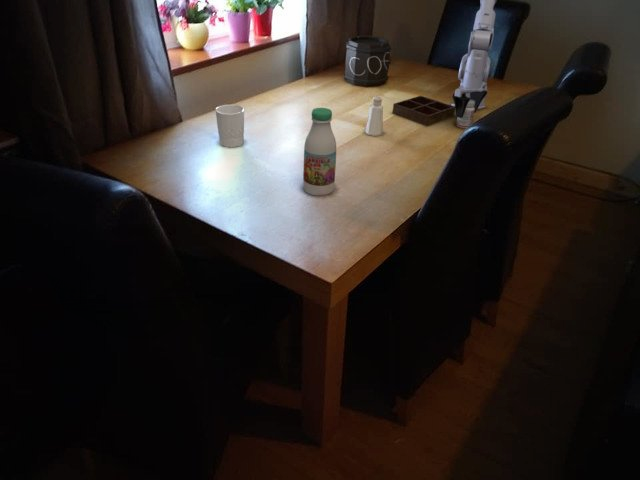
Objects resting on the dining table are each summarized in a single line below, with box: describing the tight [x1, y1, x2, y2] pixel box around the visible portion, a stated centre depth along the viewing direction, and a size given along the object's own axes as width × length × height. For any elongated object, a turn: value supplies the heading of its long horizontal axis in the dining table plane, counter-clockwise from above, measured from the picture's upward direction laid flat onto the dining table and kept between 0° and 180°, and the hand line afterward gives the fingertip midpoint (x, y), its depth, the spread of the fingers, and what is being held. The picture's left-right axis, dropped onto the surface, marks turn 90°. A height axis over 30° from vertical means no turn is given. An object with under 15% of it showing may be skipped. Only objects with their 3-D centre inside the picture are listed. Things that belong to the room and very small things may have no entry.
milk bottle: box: [302, 107, 337, 196], centre depth 119 cm, size 8×8×20 cm
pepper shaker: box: [364, 96, 384, 137], centre depth 154 cm, size 5×5×11 cm
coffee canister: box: [344, 35, 392, 88], centre depth 198 cm, size 18×18×16 cm
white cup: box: [215, 104, 245, 148], centre depth 144 cm, size 8×8×10 cm
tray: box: [392, 95, 456, 127], centre depth 171 cm, size 15×15×3 cm
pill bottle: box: [455, 99, 475, 129], centre depth 163 cm, size 5×5×8 cm
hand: (465, 114), depth 163 cm, fingers open, 7 cm apart
